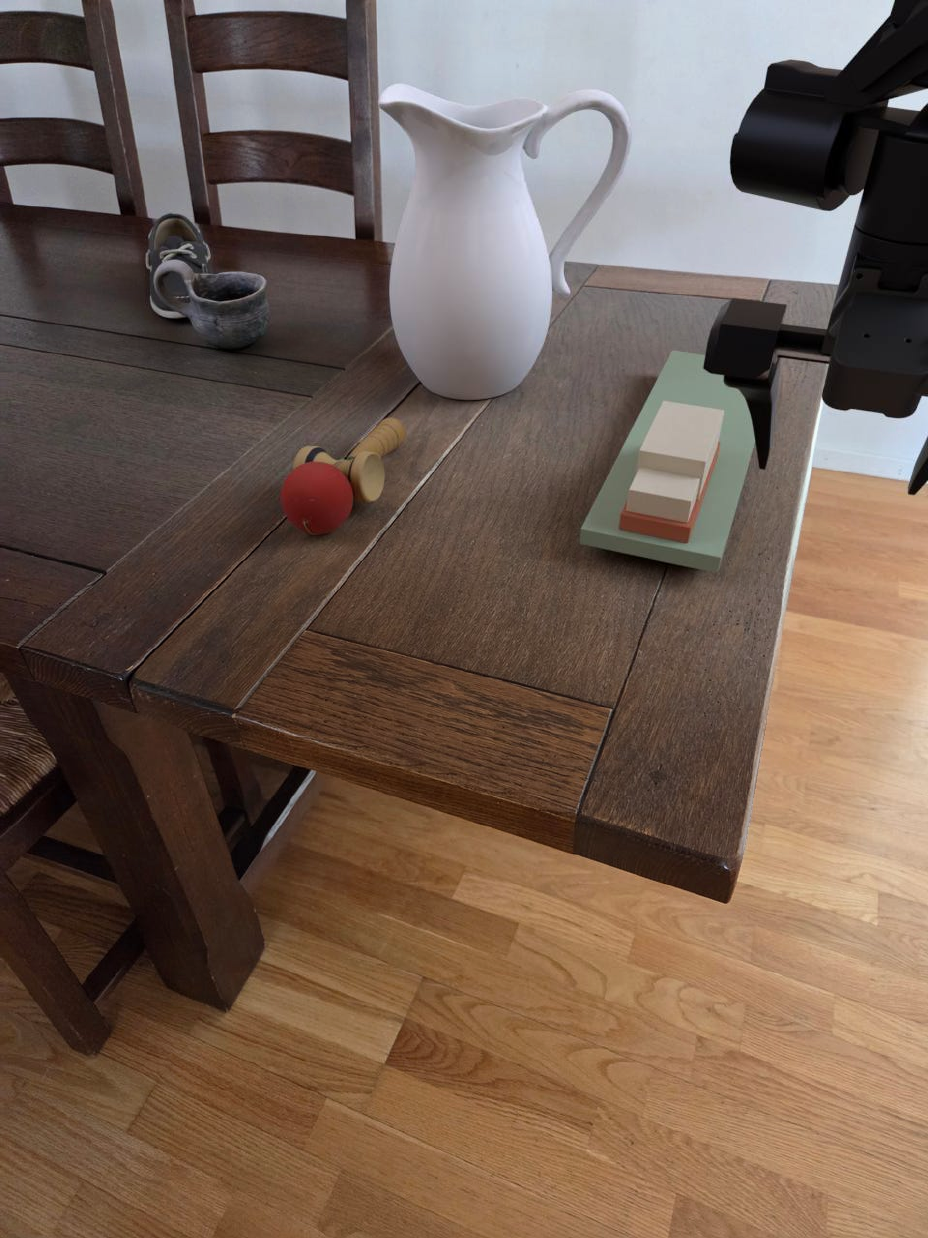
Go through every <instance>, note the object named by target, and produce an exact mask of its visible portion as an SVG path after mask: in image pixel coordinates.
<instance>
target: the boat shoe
mask: <svg viewBox="0 0 928 1238" xmlns="http://www.w3.org/2000/svg"><path fill="white" fill-rule="evenodd" d="M200 233H201V230H200V228H199V227H198V226H197V225H196V224H195V223H194V222H193V221H191V220H190V219H189V218H188V217H187V216H185V215H183V214H180V213H173V212H169V213H166V214H164V215H161V216H160V217H159V218H158V219H157V220H156V221H154V225H153V227H152V228H151V229H150V231H149V233H148V249H147V252H146V253H145V266H146V269H148V270H149V276H148V279H149V294H150V296H149V300H150V306H151V308H152V310H153V311H154V312H155V313H156V314H158V315H159V316H161V317H164V318H168V319H182V318H187V317H186V316H183V315H181V314H180V313H178V312H176V311H174V310H173V309H171V308H170V307H168V306H167V305H166V304H165V303H164V302H163V301H162V300H161V299H160V297H159V296H158V294H157V292H156V290H155V287H154V274H155V272H156V270H157V268H158V267H159V266H160V265H161V264H162V263H163V262H165V261H168V260H180V261H183V262H185V263H186V264H187V265H188V266H189V267H190V268H191V269H192V271H193V273H195V274H212V271H211V265H210V259H211V252H210V248H209V245H208V244H207V243H205V241H204V239H203V237H202V235H201V234H200ZM163 282H164V285H165V287H166V289H167V290H168V291H169V292H170V293H171V295H172V296H174V297H175V298H176V299H177V300H179V301H181V302H183V303H190V302H191V300H190V297H189V293H188V290H187V287H186V285H185V283H184V281H183V279H182V277H181V275H179V274H177V273H173V272H170V273H167V274H165V275H164V277H163Z"/></svg>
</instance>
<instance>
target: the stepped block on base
mask: <svg viewBox="0 0 928 1238" xmlns="http://www.w3.org/2000/svg"><path fill="white" fill-rule="evenodd" d="M723 416H724V410H719V409H713V408H707V407H700V406H694V405H688V404H681V403H675V402H668V401H663V402H662V404H661V406H660V408H659V410H658V412H657V415H656V417H655V419H654V421H653V423H652V425H651V427H650V429H649V431H648V433H647V435H646V437H645V439H644V441H643V444H642V446H641V448H640V450H639V455H638V463H637V471H636V476H635V478H634V480H633V482H632V484H631V487H630V489H629V494H628V499H627V501H626V503H625V505H624V507H623V509H622V512H621V514H620V521H619V529H620V530H625V531H630V532H635V533H640V534H645V535H649V536H654V537H659V538H664V539H669V540H674V541H679V542H684V543H688V542H689V539H690V536H691V533H692V530H693V528H694V525H695V522H696V519H697V516H698V513H699V510H700V507H701V504H702V501H703V499H704V496H705V493H706V490H707V487H708V484H709V481H710V478H711V475H712V472H713V470H714V467H715V464H716V461H717V458H718V454H719V449H720V444H721V443H720V442H718V441H719V436H720V431H721V426H722V421H723Z"/></svg>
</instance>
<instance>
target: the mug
mask: <svg viewBox="0 0 928 1238" xmlns="http://www.w3.org/2000/svg"><path fill="white" fill-rule="evenodd" d="M170 272H173V273H177V274H179V275H181V277H182V279H183V281H184V283H185V285H186V287H187V290H188V293H189V297H190V300H191V302H190V303H183V302H181V301H179V300H177V299H176V298H175V297H174V296H172V295H171V293H170V292H169V291H168V290H167V289H166V287H165V285H164V282H163V277H164V275H165V274H167V273H170ZM267 285H268V283H267V279H266V278H264V277H263V276H262V275H260V274H257V273H252V272H246V271H245V272H244V271H224V272H219V273H216V274H215V273H211V274H195V273H193V271H192V269H191V268H190V267H189V266H188V265H187V264H186V263H185V262H183V261H180V260H168V261H165V262H163V263H162V264H161V265H160V266H159V267H158V268H157V270H156V272H155V274H154V287H155V290H156V292H157V294H158V296H159V297H160V299H161V300H162V301H163V302H164V303H165V304H166V305H167V306H168V307H170V308H171V309H173V310H174V311H176V312H178V313H180V314H181V315H183V316H186V317H185V318H188V319H189V321H190V323H191V324H192V327H193V329H194V331H195V332H196V333H197V335H198V336H199V337H200V338H201V339H202V340H203V341H205V342H206V343H208V344H210V345H212V346H215V347H219V348H223V349H227V350H236V349H242V348H244V347H247V346H249V345H250V344H253V343H255V342H257V341H258V340H260V339H261V338H262V337H263V336H264V335H265V333H266V332H267V330H268V328H269V323H270V319H271V309H270V304H269V301H268V300H267V297H266V290H267Z"/></svg>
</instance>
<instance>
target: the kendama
mask: <svg viewBox="0 0 928 1238" xmlns="http://www.w3.org/2000/svg"><path fill="white" fill-rule="evenodd" d="M406 438H407V432H406V428H405V426H404V424H403V423H402V422H401V421H400V420H399V419H397V418H395V417H386V418H384V419H382V420H381V421H380V422H378V424H377V425H376V426H375V427H374V428H373V429H372V431H371V432H369V433H368V434H367V435H366V436H365V437H364V438H363V439H361V441H360V442H358V444H357V445H356V446H355V447H354V448H353V449H352V451H351V452H350V453H349V454H348V456H347V457H346V459H334V458H333V457H331V456H330V455H329V453H328V452H327V450H326V449H325V448H323V447H321V446H318V445H306V446H303V447H301V448H300V449H299V450H298V452H297V454H296V456H295V458H294V461H293V465H292V470H291V471H290V472H289V473H288V475H286V477H285V479H284V481H283V483H282V486H281V489H280V503H281V507H282V508H281V509H282V510H283V513H284V515H285V516H286V518H287V519H288V521H289V522H290V523H291V524H292V525H293V526H294V527H296V528H297V529H299V530H301V531H303V532H305V533H308V534H311V535H313V536H318V535H322V534H327V533H330V532H332V531H335V530H337V529H338V528H339V527H341V526H342V525H343V524H344V523H345V522H346V521H347V520H348V518H349V516H350V515H351V512H352V509H353V505H354V499H355V500H356V501H357V502H358V503H361V504H362V503H363V504H370V503H371V504H373V503H375V502H376V501H378V499H379V498H380V497H381V494H382V492H383V490H384V485H385V475H386V474H385V468H384V467H385V466H384V463H383V460H382V458H384V457H386V456H387V455H388V454H389V453H391V452H393V451H394V450H396V449H398V448H400V447H401V446H402V445H403V444H404V443H405V441H406Z"/></svg>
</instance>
